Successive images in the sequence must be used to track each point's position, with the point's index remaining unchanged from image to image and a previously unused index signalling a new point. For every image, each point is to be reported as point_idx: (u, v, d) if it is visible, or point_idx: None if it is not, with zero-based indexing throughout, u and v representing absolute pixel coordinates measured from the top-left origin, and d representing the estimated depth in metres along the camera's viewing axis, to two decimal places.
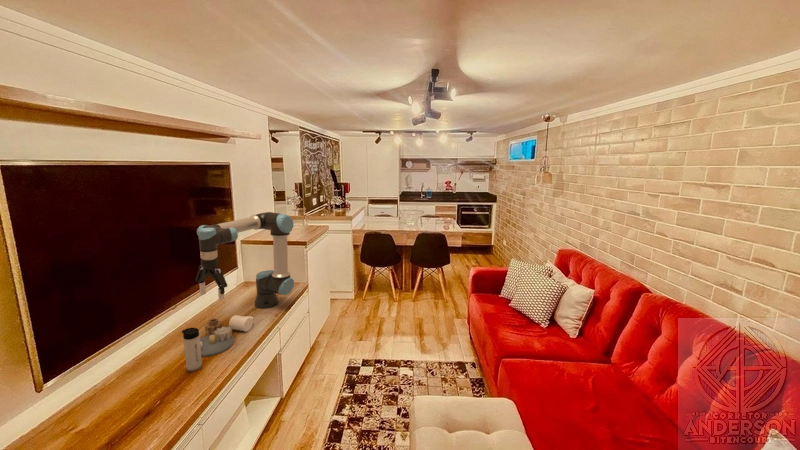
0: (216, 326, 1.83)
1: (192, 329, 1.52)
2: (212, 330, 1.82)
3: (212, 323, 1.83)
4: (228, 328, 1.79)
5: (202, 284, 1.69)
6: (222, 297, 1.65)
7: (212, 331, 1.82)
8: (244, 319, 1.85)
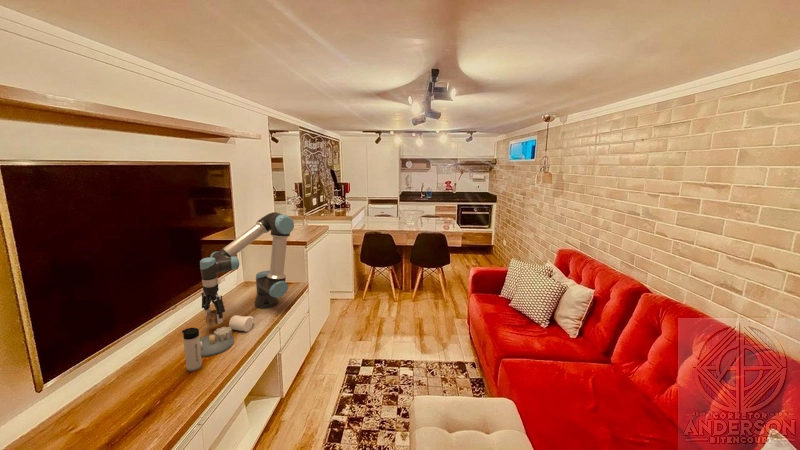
0: (216, 317, 1.82)
1: (192, 329, 1.52)
2: (213, 321, 1.81)
3: (212, 314, 1.82)
4: (228, 328, 1.79)
5: (208, 310, 1.85)
6: (221, 321, 1.83)
7: (213, 322, 1.81)
8: (244, 319, 1.85)
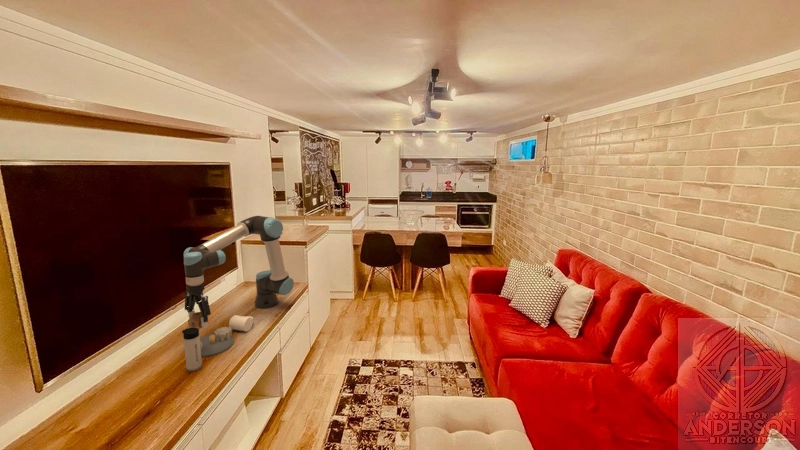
0: None
1: (192, 329, 1.52)
2: (196, 325, 1.58)
3: (196, 317, 1.60)
4: (228, 328, 1.79)
5: (191, 313, 1.63)
6: (205, 325, 1.61)
7: (196, 326, 1.59)
8: (244, 319, 1.85)
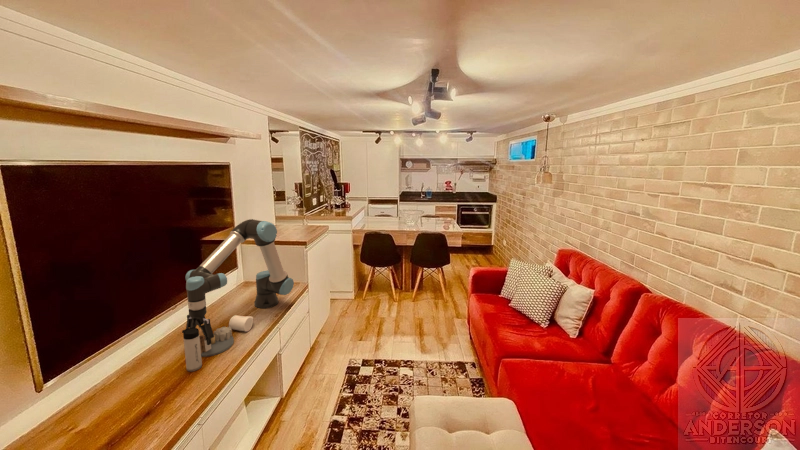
0: (203, 344, 1.63)
1: (192, 329, 1.52)
2: None
3: None
4: (228, 328, 1.79)
5: None
6: (209, 347, 1.63)
7: None
8: (244, 319, 1.85)
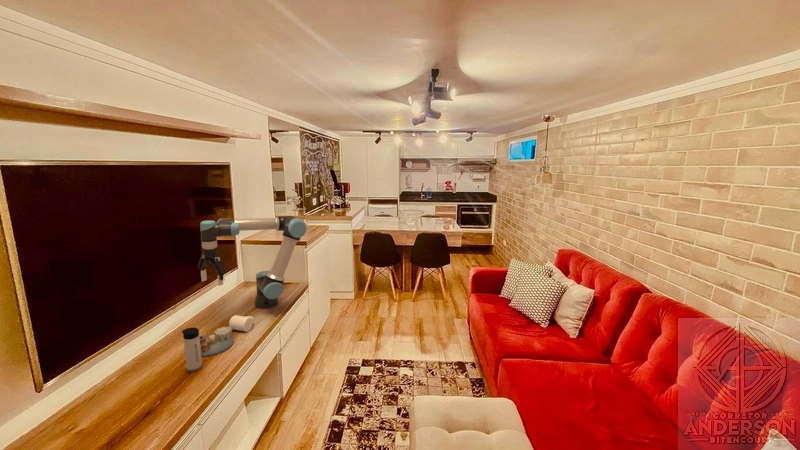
0: (203, 344, 1.63)
1: (192, 329, 1.52)
2: None
3: None
4: (228, 328, 1.79)
5: (203, 271, 1.88)
6: (221, 283, 1.84)
7: None
8: (244, 319, 1.85)
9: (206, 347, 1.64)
